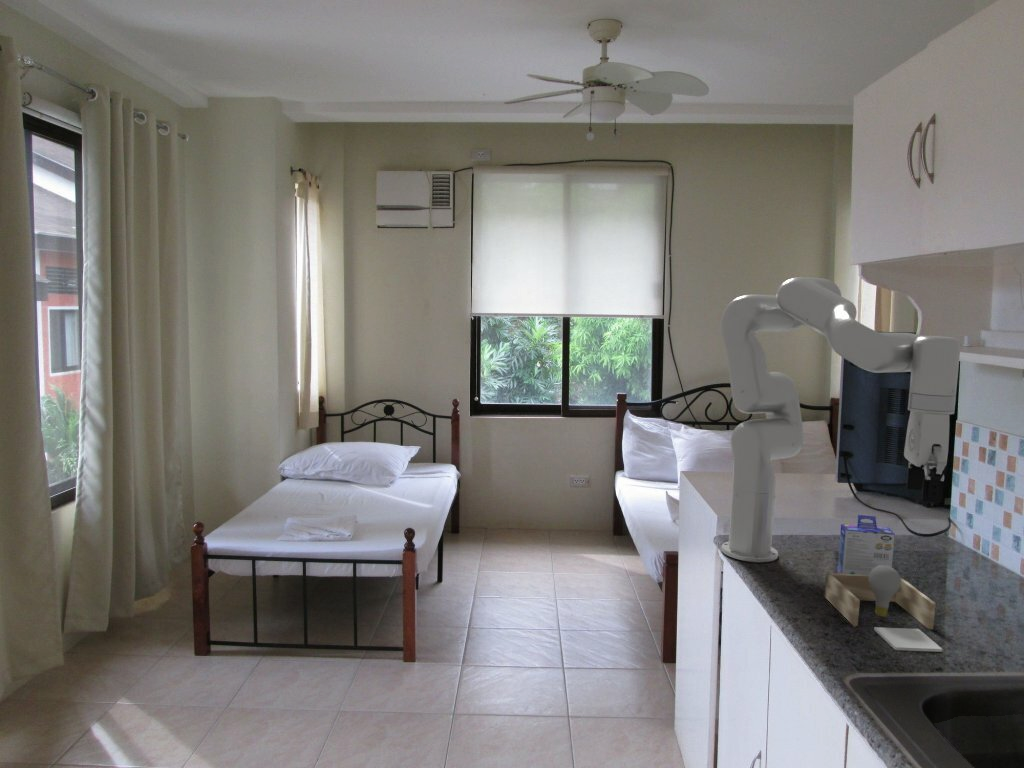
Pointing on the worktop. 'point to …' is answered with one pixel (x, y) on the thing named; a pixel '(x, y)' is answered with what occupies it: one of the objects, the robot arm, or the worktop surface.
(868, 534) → the ink cartridge box
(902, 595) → the u-shaped wooden frame
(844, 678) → the worktop surface
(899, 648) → the grey pad
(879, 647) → the worktop surface
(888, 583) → the light bulb
